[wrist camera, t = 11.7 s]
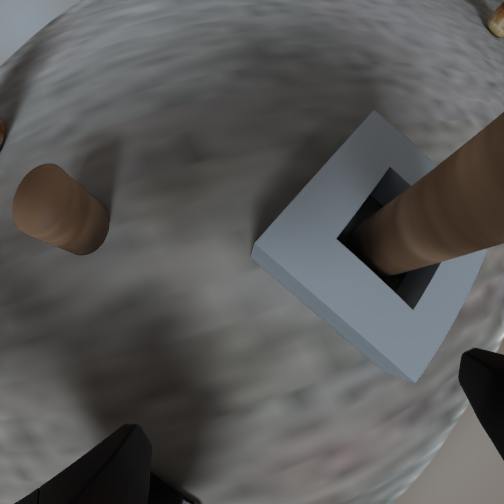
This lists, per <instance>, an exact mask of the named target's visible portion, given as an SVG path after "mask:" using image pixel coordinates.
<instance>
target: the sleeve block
mask: <svg viewBox="0 0 504 504" xmlns="http://www.w3.org/2000/svg"><path fill="white" fill-rule="evenodd" d="M436 166H437V165H436V164H435V163H434V162H433V161H432V160H431V159H430V158H429V157H428V156H427V155H426V154H424V153H423V152H422V151H421V150H420V149H419V148H418V147H417V146H416V145H415V144H414V143H413V142H411V141H410V140H409V139H408V138H407V137H406V136H405V135H404V134H402V133H401V132H400V131H399V130H398V129H397V128H395V127H394V126H393V125H392V124H391V123H390V122H388V121H387V120H386V119H385V118H383V117H382V116H381V115H380V114H379V113H377V112H376V111H375V110H373V111H372V112H371V113H370V115H369V116H368V117H367V118H366V119H365V120H364V121H363V122H362V123H361V125H360V126H359V127H358V128H357V129H356V130H355V131H354V132H353V133H352V135H351V136H350V137H349V138H348V139H347V140H346V141H345V142H344V143H343V145H342V146H341V147H340V148H339V149H338V150H337V151H336V152H335V154H334V155H333V156H332V157H331V158H330V159H329V160H328V161H327V162H326V164H325V165H324V166H323V167H322V168H321V169H320V170H319V171H318V173H317V174H316V175H315V176H314V177H313V178H312V179H311V180H310V181H309V183H308V184H307V185H306V186H305V187H304V188H303V189H302V190H301V192H300V193H299V194H298V195H297V196H296V197H295V198H294V199H293V200H292V202H291V203H290V204H289V205H288V206H287V207H286V208H285V209H284V211H283V212H282V213H281V214H280V215H279V216H278V217H277V218H276V220H275V221H274V222H273V223H272V224H271V225H270V226H269V227H268V229H267V230H266V231H265V232H264V233H263V234H262V235H261V236H260V238H259V239H258V240H257V241H256V242H255V243H254V246H253V250H252V253H251V256H250V257H251V258H252V259H253V260H254V261H255V262H256V263H258V264H259V265H260V266H261V267H262V268H263V269H265V270H266V271H267V272H268V273H269V274H270V275H272V276H273V277H274V278H275V279H276V280H277V281H279V282H280V283H281V284H282V285H283V286H284V287H286V288H287V289H288V290H289V291H290V292H291V293H293V294H294V295H295V296H296V297H297V298H298V299H300V300H301V301H302V302H303V303H304V304H305V305H307V306H308V307H309V308H310V309H311V310H312V311H314V312H315V313H316V314H317V315H318V316H319V317H321V318H322V319H323V320H324V321H325V322H326V323H328V324H329V325H330V326H331V327H332V328H333V329H335V330H336V331H337V332H338V333H339V334H340V335H342V336H343V337H344V338H345V339H346V340H348V341H349V342H350V343H351V344H352V345H353V346H355V347H356V348H357V349H358V350H359V351H360V352H362V353H363V354H364V355H365V356H366V357H368V358H369V359H370V360H371V361H372V362H373V363H375V364H376V365H377V366H378V367H379V368H380V369H382V370H383V371H384V372H385V373H388V374H391V375H393V376H396V377H399V378H402V379H405V380H408V381H411V382H413V383H416V382H417V381H418V379H419V378H420V376H421V375H422V373H423V372H424V370H425V369H426V367H427V366H428V364H429V363H430V361H431V359H432V358H433V356H434V355H435V353H436V352H437V350H438V348H439V347H440V345H441V343H442V342H443V340H444V338H445V336H446V335H447V333H448V331H449V329H450V328H451V326H452V324H453V322H454V320H455V319H456V317H457V315H458V313H459V311H460V309H461V307H462V305H463V303H464V301H465V299H466V297H467V295H468V293H469V291H470V289H471V287H472V285H473V283H474V281H475V278H476V276H477V274H478V272H479V269H480V267H481V265H482V262H483V260H484V258H485V255H486V253H487V250H488V248H486V249H483V250H480V251H477V252H473V253H470V254H467V255H464V256H460V257H457V258H453V259H450V260H447V261H443V262H440V263H436V264H433V265H429V266H425V267H422V268H418V269H415V270H411V271H408V273H407V274H406V276H405V278H404V279H403V281H402V282H401V284H400V285H399V287H398V289H397V290H396V292H394V291H393V290H392V289H391V288H390V287H389V286H387V285H386V284H385V283H384V282H383V281H382V280H381V279H380V278H379V277H378V276H377V275H376V274H375V273H374V272H372V271H371V270H370V269H369V268H368V267H367V266H366V265H365V264H364V263H363V262H362V261H360V260H359V259H358V258H357V257H356V256H355V255H354V254H353V253H352V252H350V251H349V250H348V249H347V248H346V247H345V246H344V245H343V244H341V243H340V242H339V241H338V240H337V239H336V238H337V237H338V235H339V234H340V233H341V232H342V230H343V229H344V228H345V226H346V225H347V224H348V223H349V221H350V220H351V219H352V217H353V216H354V215H355V213H356V212H357V211H358V209H359V208H360V207H361V205H362V204H363V203H364V201H365V200H366V199H367V197H368V196H369V195H371V196H373V197H374V198H375V199H376V200H377V201H378V202H379V203H380V204H381V205H382V206H385V205H386V204H388V203H389V202H391V201H392V200H393V199H395V198H396V197H397V196H399V195H400V194H401V193H403V192H404V191H405V190H406V189H408V188H409V187H410V186H412V185H413V184H414V183H416V182H417V181H418V180H420V179H421V178H422V177H424V176H425V175H426V174H427V173H429V172H430V171H431V170H433V169H434V168H435V167H436Z"/></svg>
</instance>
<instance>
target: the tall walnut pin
mask: <svg viewBox="0 0 504 504" xmlns="http://www.w3.org/2000/svg"><path fill="white" fill-rule="evenodd" d="M502 243H504V112H503V113H502V114H501V115H500V116H498V117H497V118H496V119H495V120H494V121H492V122H491V123H490V124H489V125H488V126H486V127H485V128H484V129H483V130H482V131H480V132H479V133H478V134H477V135H475V136H474V137H473V138H472V139H470V140H469V141H468V142H467V143H465V144H464V145H463V146H462V147H461V148H459V149H458V150H457V151H455V152H454V153H453V154H452V155H450V156H449V157H448V158H447V159H445V160H444V161H443V162H442V163H440V164H439V165H438V166H436V167H435V168H434V169H433V170H431V171H430V172H429V173H427V174H426V175H425V176H424V177H422V178H421V179H420V180H418V181H417V182H416V183H414V184H413V185H412V186H410V187H409V188H408V189H406V190H405V191H404V192H403V193H401V194H400V195H399V196H397V197H396V198H395V199H393V200H392V201H391V202H389V203H388V204H386V205H385V206H384V207H382V208H381V209H380V210H378V211H377V212H376V213H374V214H373V215H372V216H370V217H369V218H367V219H366V220H365V221H363V222H362V223H361V224H359V225H358V226H357V227H356V228H355V229H354V230H353V231H352V233H351V235H350V238H349V242H348V250H349V251H350V252H352V253H353V254H354V255H355V256H356V257H357V258H358V259H359V260H360V261H362V262H363V263H364V264H365V265H366V266H367V267H368V268H369V269H370V270H371V271H372V272H374V273H375V274H376V275H377V276H378V277H379V278H384V277H388V276H392V275H396V274H400V273H403V272H407V271H411V270H415V269H418V268H422V267H425V266H429V265H433V264H436V263H440V262H443V261H447V260H450V259H453V258H457V257H460V256H464V255H467V254H470V253H473V252H477V251H480V250H483V249H486V248H490V247H493V246H496V245H499V244H502Z"/></svg>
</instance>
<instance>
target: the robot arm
mask: <svg viewBox="0 0 504 504" xmlns="http://www.w3.org/2000/svg"><path fill="white" fill-rule="evenodd" d="M458 377H459V382H460V385H461V387H462V388H463V390H464V392H465V394H466V396H467V398H468V400H469V402H470V404H471V406H472V408H473V410H474V412H475V414H476V416H477V418H478V419H479V421H480V423H481V425H482V426H483V428H484V429H485V431H486V433H487V434H488V436H489V437H490V439H491V440H492V442H493V443H494V445H495V447H496V449H497V450H498V452H499V454H500V455H501V457H502V459H503V460H504V355H502V354H498V353H495V352H491V351H486V350H482V349H478V348H472V349H470V350H468V351H465V352H464V353H463V354H462V356H461V362H460V369H459V376H458ZM151 455H152V447H151V444H150V442H149V440H148V438H147V437H146V435H145V433H144V432H143V430H142V428H141V427H140V426H139V425H138V424H124V425H123V426H121V427H120V428H119V429H117V430H116V431H115V432H114V433H112V434H111V435H110V436H108V437H107V438H106V439H105V440H103V441H102V442H101V443H99V444H98V445H97V446H95V447H94V448H93V449H91V450H90V451H89V452H87V453H86V454H85V455H83V456H82V457H81V458H79V459H78V460H77V461H75V462H74V463H73V464H71V465H70V466H69V467H67V468H66V469H64V470H63V471H62V472H60V473H59V474H58V475H56V476H55V477H53V478H52V479H51V480H49V481H48V482H46V483H45V484H43V485H42V486H41V487H40V488H38V489H36V490H35V491H33V492H32V493H30V494H29V495H27V496H26V497H24V498H23V499H21V500H19V501H18V502H16V503H14V504H195V503H193V502H192V501H190V500H189V499H187V498H185V497H184V496H183V495H182V494H181V493H179V492H178V491H176V490H175V489H173V488H172V487H170V486H169V485H168V484H166V483H165V482H163V481H162V480H161V479H159V478H158V477H156V476H155V475H153V474H151V473H150V467H151Z"/></svg>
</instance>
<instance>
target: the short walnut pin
mask: <svg viewBox="0 0 504 504" xmlns="http://www.w3.org/2000/svg"><path fill="white" fill-rule="evenodd" d="M13 217H14V221H15V223H16V225H17V227H18V228H19V229H20V230H21V231H22V232H24V233H26V234H28V235H30V236H33V237H35V238H37V239H40V240H42V241H44V242H47V243H49V244H52V245H54V246H56V247H59V248H61V249H64V250H66V251H69V252H71V253H74V254H76V255H87V254H90V253H92V252H94V251H95V250H97V249H98V248H99V247H100V246H101V245H102V243H103V242H104V240H105V238H106V236H107V233H108V230H109V216H108V213H107V210H106V209H105V207H104V206H103V205H102V204H101V203H100V202H99V201H97V200H96V199H95V198H94V197H93V196H92V195H91V194H89V193H88V192H87V191H86V190H85V189H84V188H83V187H81V186H80V185H79V184H78V183H77V182H76V181H75V180H74V179H73V178H71V177H70V176H69V175H68V174H67V173H66V172H65V171H64V170H63V169H62V168H60V167H59V166H57V165H55V164H43V165H40V166H38V167H36V168H34V169H33V170H32V171H30V172H29V173H28V174H27V175H26V176H25V177H24V179H23V180H22V182H21V183H20V185H19V187H18V189H17V191H16V194H15V197H14V201H13Z"/></svg>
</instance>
